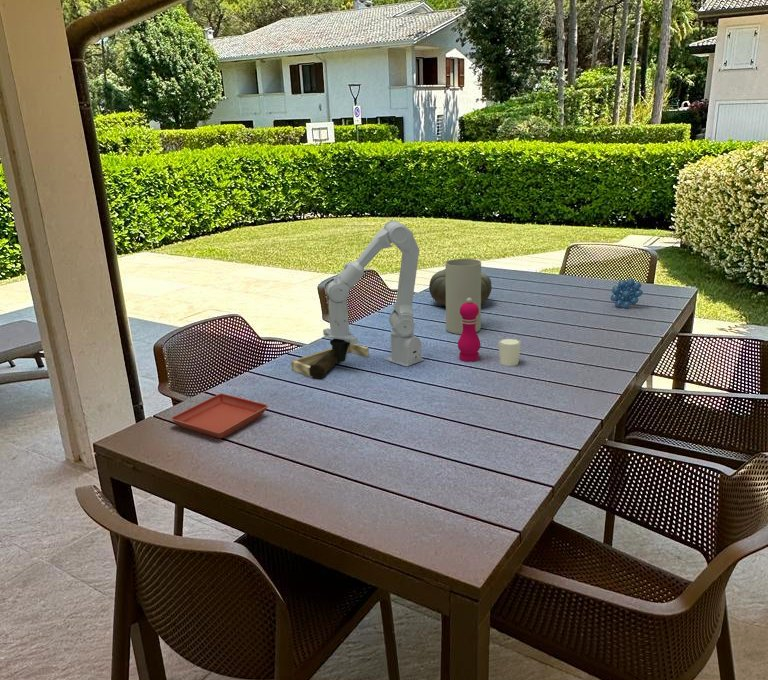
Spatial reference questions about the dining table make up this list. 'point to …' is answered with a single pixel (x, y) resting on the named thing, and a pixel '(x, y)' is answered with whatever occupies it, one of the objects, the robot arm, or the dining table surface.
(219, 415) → the plant saucer
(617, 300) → the grapes
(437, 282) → the gourd
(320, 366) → the hand tool
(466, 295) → the cylinder vase
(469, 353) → the pepper mill
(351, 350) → the beige bent bracket
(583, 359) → the dining table surface
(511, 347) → the cream cylinder
